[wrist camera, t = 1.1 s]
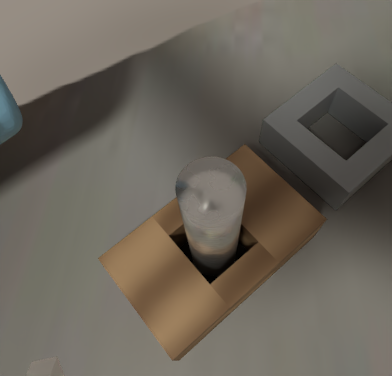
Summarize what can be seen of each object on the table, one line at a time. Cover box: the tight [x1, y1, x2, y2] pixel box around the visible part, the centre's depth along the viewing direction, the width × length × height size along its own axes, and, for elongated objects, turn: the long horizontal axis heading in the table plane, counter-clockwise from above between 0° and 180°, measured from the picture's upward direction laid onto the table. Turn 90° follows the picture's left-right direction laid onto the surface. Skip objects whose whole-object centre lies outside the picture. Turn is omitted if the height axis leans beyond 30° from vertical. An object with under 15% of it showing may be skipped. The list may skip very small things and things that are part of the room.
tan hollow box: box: [98, 144, 327, 360], centre depth 39 cm, size 12×20×6 cm, turn 130°
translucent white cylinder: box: [176, 157, 247, 276], centre depth 34 cm, size 5×5×18 cm
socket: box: [259, 64, 392, 210], centre depth 45 cm, size 13×13×5 cm
